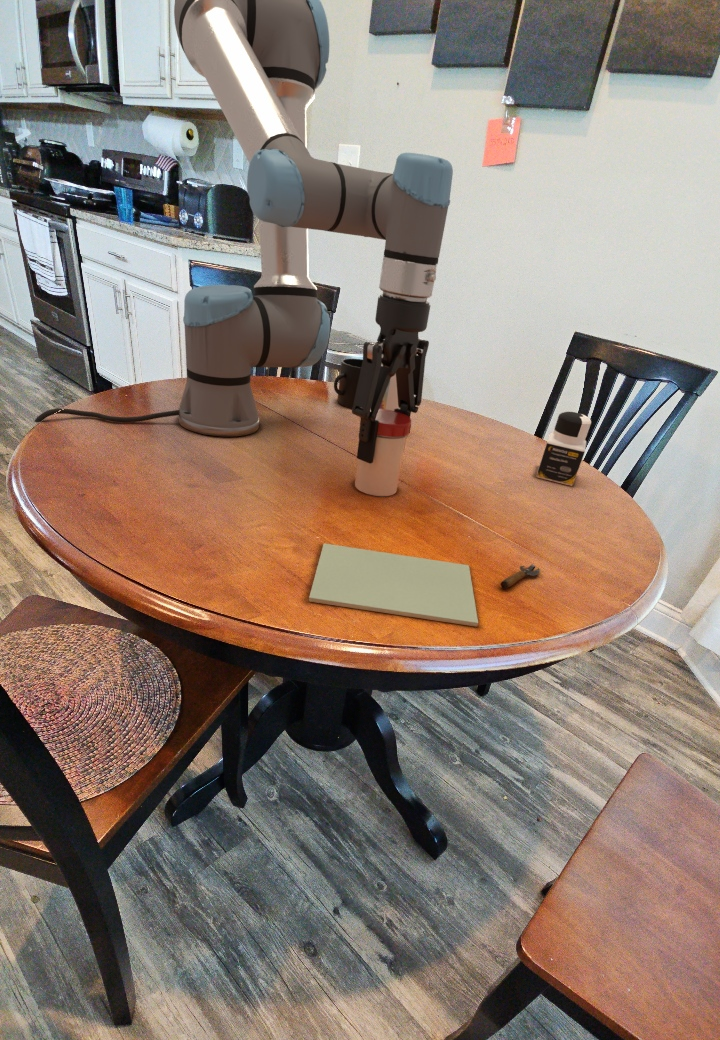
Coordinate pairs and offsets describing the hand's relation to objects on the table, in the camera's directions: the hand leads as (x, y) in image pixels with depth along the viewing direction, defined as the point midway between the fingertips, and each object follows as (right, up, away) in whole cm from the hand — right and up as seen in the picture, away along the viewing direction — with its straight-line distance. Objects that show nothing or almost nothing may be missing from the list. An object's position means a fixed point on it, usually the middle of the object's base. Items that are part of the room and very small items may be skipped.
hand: (380, 455), depth 96 cm
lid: (+1, +5, -3) cm, 6 cm away
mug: (-5, +25, +43) cm, 50 cm away
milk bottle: (+3, +15, +30) cm, 34 cm away
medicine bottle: (+35, +2, +20) cm, 41 cm away
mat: (+1, -23, -22) cm, 32 cm away
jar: (-1, -4, +3) cm, 6 cm away
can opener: (+18, -22, -17) cm, 33 cm away
